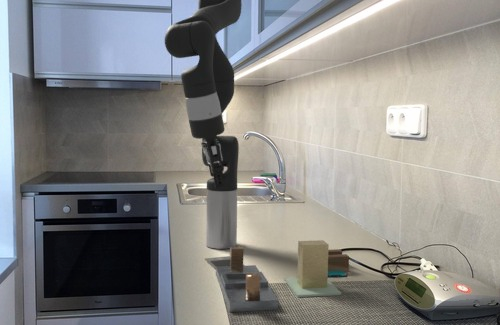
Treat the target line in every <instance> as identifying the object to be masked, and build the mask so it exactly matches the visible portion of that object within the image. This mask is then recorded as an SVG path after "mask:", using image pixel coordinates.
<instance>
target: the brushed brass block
mask: <svg viewBox="0 0 500 325" xmlns="http://www.w3.org/2000/svg"><path fill="white" fill-rule="evenodd" d="M297 242H298V243H297V245H298V246H297V249H298V250H297V277H298V278H297V277H296V278H297V283H298V284H299V285H300V287H301V288H322V287H327V281H328V280H329V279H328V250H329V243H328V242H326V241H324V240H321V239H319V240H298V241H297Z"/></svg>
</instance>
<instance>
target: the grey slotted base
mask: <svg viewBox="0 0 500 325" xmlns="http://www.w3.org/2000/svg"><path fill="white" fill-rule="evenodd" d="M229 256H230V266H222V267H216V270H215V276H216V280H217V282H218V285H219V287H220V290H221V292H222V295H223V297H224V301H225V302H226V306H227V310H228V312H229V313H236V312H237V313H239V312H241V313H242V312H257V311H274V310H275V311H277V310H278V311H279V299H278V298H277V296H276V294H275V293H274V291H273V290H272V288H271V287H270V285H269V280H267V278H266V276H265V274H264V273H263V272H262V271H260V270H259V269H258V267H257V265H255V264H253V265H250V264H249V265H245V266H243V264H244V247H243V246H235V247H230V248H229Z"/></svg>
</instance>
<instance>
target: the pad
mask: <svg viewBox="0 0 500 325" xmlns="http://www.w3.org/2000/svg"><path fill="white" fill-rule="evenodd" d="M297 278H298V276H297V277H284V281H285V283H287V285H288V287H289V288H290V289H291V290H292V292H293V293H294V294H295V296H296V297H297V298H307V297H312V298H313V297H328V296H330V297H332V296H342V292H341V291H340V290H339V289H338V288H337V287H336V286H335V285H334V284H333V283H332V282H331V281H330V280H329V279H328V281H327V287H322V288H301V287H300V285H299V284H298V283H297Z"/></svg>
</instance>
